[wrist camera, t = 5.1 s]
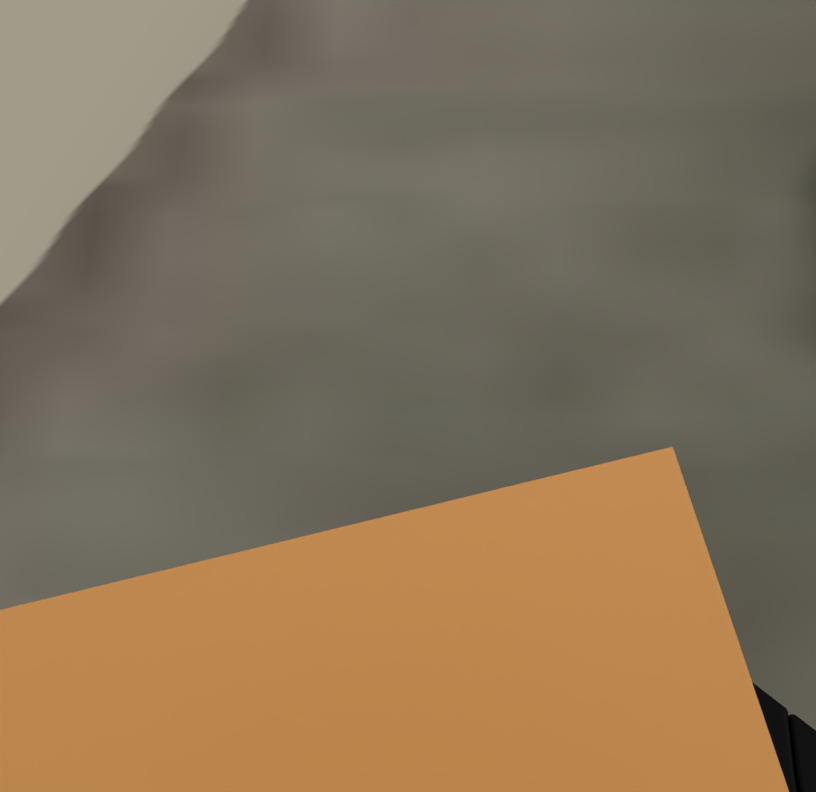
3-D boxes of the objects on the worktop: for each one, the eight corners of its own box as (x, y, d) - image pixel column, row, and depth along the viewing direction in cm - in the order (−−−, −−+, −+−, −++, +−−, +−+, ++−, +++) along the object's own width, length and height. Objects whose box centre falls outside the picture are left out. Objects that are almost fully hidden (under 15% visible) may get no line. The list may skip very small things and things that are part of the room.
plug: (512, 701, 14) (1031, 1512, 2) (326, 750, 14) (-89, 1914, 2) (464, 514, 15) (671, 446, 3) (290, 557, 15) (-136, 644, 3)
